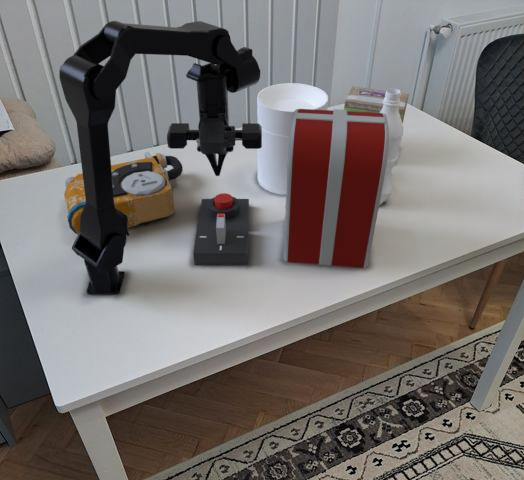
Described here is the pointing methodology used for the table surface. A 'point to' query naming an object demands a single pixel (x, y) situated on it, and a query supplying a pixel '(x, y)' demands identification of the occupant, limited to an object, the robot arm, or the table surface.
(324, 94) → the canister
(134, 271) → the table surface
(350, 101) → the tea box
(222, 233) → the grey rectangular block
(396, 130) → the water bottle
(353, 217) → the wrapped gift box
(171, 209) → the device
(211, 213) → the button block
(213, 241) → the panel
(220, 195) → the power button
